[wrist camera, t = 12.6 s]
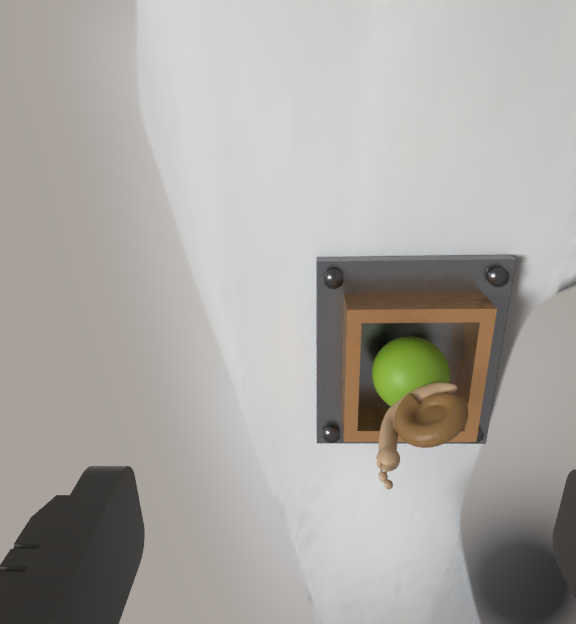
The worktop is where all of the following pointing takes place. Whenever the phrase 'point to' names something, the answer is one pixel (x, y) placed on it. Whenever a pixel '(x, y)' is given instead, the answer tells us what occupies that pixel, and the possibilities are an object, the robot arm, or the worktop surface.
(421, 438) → the snail figurine
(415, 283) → the socket plate
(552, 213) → the worktop surface
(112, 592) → the robot arm
